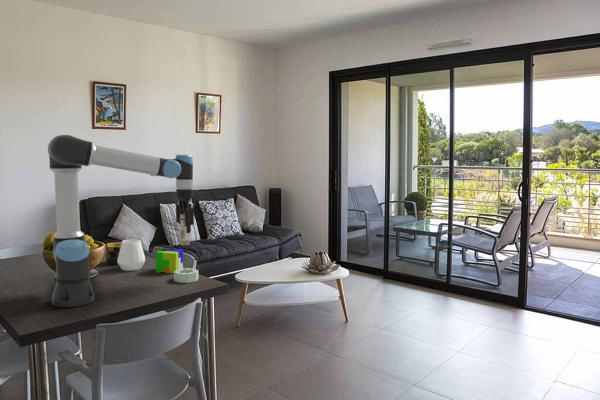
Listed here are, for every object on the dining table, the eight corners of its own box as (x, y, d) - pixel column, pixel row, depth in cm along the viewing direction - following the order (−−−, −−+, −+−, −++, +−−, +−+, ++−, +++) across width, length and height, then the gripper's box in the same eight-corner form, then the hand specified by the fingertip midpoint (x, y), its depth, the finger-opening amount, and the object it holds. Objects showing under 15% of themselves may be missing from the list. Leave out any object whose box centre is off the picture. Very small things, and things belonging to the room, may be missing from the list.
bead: (182, 283, 215) (182, 275, 215) (170, 279, 223) (170, 270, 222) (201, 280, 222) (202, 271, 222) (190, 275, 230) (190, 267, 229)
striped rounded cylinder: (183, 245, 218) (183, 215, 216) (178, 244, 221) (178, 214, 219) (191, 244, 221) (191, 214, 219) (186, 243, 224) (186, 213, 222)
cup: (150, 266, 245) (150, 239, 243) (135, 272, 232) (134, 244, 231) (128, 264, 248) (127, 237, 247) (111, 270, 236) (111, 242, 234)
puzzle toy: (182, 268, 243) (183, 249, 242) (175, 273, 233) (175, 253, 232) (163, 267, 244) (163, 248, 243) (156, 272, 234) (156, 252, 233)
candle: (106, 261, 253) (105, 243, 252) (126, 260, 257) (126, 242, 256) (107, 266, 244) (106, 246, 242) (128, 264, 248) (128, 245, 247)
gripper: (201, 189, 214) (202, 240, 217) (182, 186, 226) (182, 235, 229) (187, 190, 209) (187, 242, 212) (167, 187, 221) (168, 237, 224)
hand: (184, 238), depth 220 cm, fingers closed on striped rounded cylinder, 4 cm apart
